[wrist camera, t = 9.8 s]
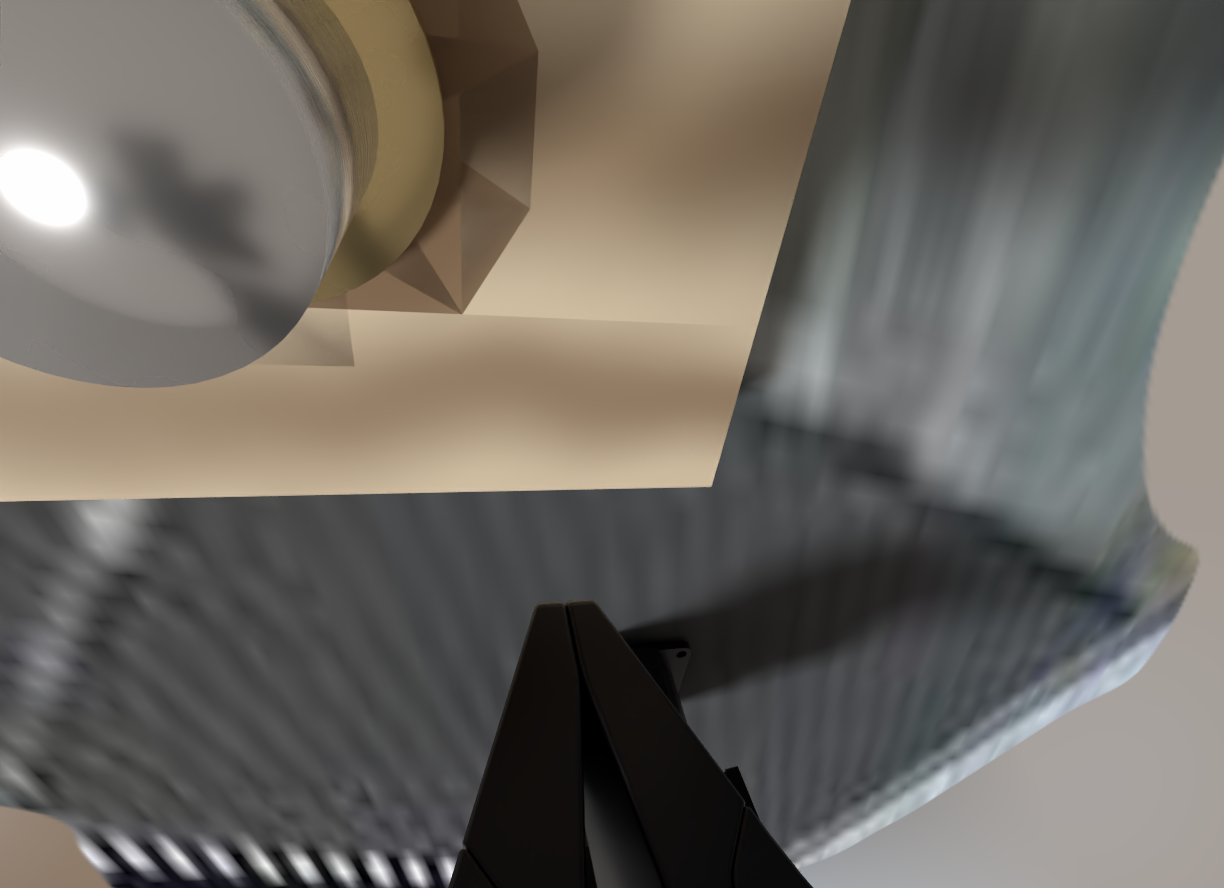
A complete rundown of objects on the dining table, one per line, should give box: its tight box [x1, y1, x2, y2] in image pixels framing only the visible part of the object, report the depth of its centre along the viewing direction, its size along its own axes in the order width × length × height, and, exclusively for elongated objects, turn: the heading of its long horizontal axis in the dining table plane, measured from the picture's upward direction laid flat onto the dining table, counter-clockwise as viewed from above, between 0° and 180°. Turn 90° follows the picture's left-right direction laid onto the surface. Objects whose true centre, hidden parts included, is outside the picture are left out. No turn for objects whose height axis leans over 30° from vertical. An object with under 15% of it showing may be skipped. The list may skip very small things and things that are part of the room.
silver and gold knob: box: [0, 0, 445, 388], centre depth 10 cm, size 7×7×9 cm
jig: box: [0, 0, 851, 501], centre depth 12 cm, size 18×22×4 cm
